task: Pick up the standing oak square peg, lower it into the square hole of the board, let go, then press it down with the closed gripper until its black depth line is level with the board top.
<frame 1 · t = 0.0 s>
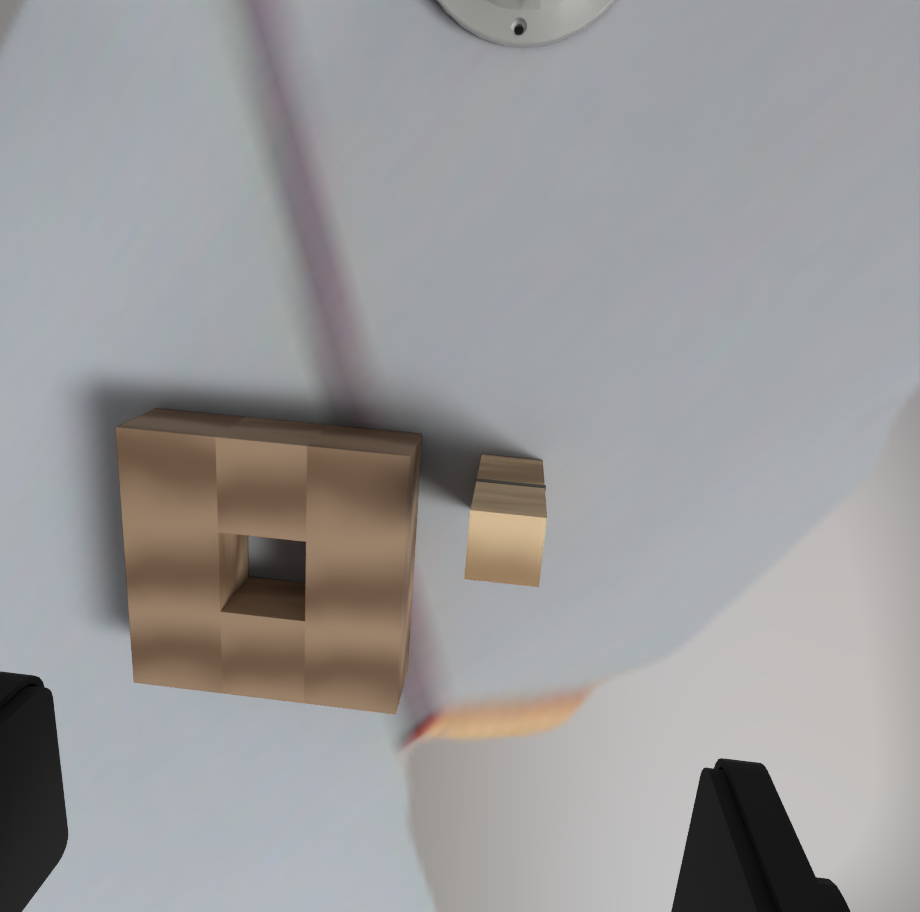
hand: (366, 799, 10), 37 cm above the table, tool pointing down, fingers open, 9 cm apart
peg: (509, 485, 47), on the table
board: (287, 545, 50), on the table
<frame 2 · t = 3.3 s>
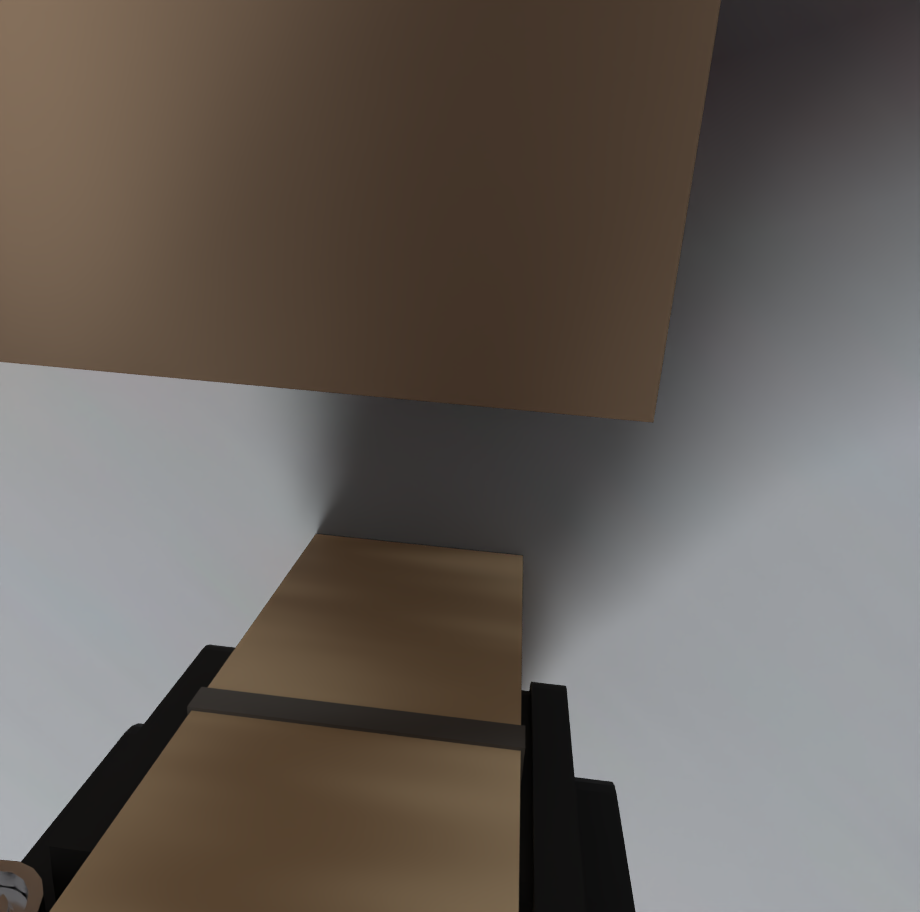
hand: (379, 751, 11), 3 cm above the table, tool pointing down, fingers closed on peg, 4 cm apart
peg: (412, 636, 14), on the table, touching gripper
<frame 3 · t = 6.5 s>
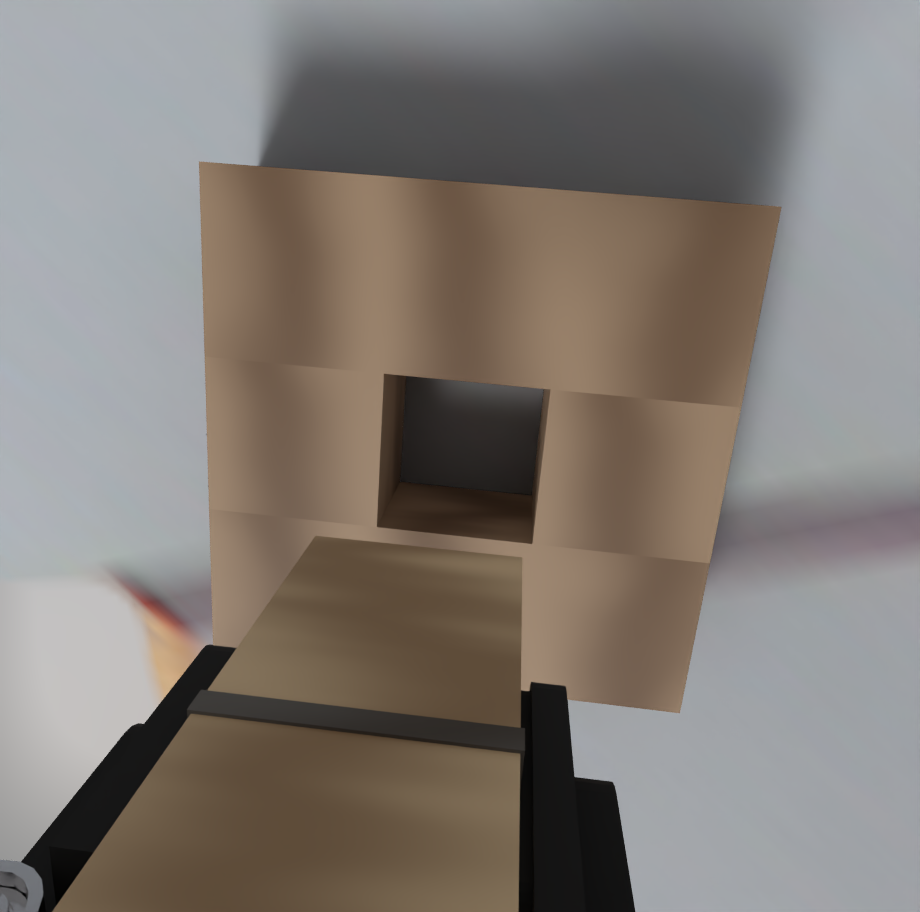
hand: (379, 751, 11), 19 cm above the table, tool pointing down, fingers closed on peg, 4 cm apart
peg: (412, 637, 14), point 16 cm above the table, touching gripper
board: (470, 424, 30), on the table
when the fingers open (6 cm above the table, at t = 9.9 s): peg drops 3 cm, resting in board.
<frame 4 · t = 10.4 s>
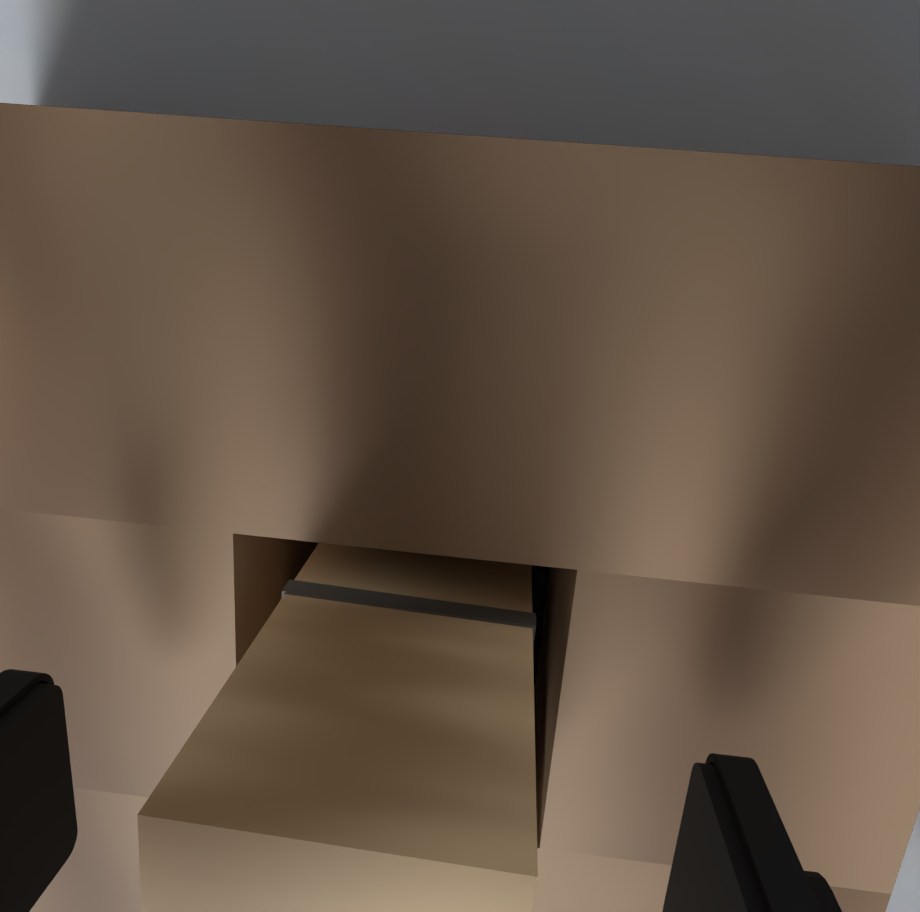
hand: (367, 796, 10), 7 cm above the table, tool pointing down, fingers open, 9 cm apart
peg: (435, 572, 17), resting in board
board: (431, 570, 17), on the table
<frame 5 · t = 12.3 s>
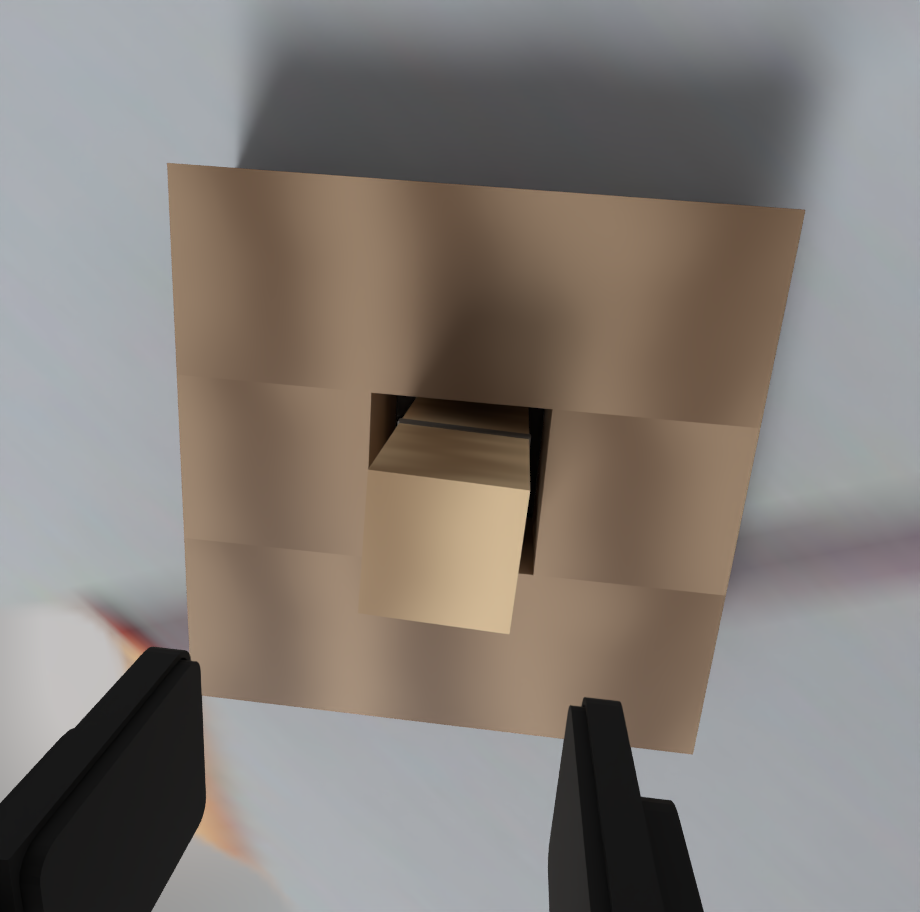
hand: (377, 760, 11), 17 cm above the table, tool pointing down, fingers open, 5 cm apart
peg: (469, 444, 28), resting in board
board: (466, 443, 28), on the table
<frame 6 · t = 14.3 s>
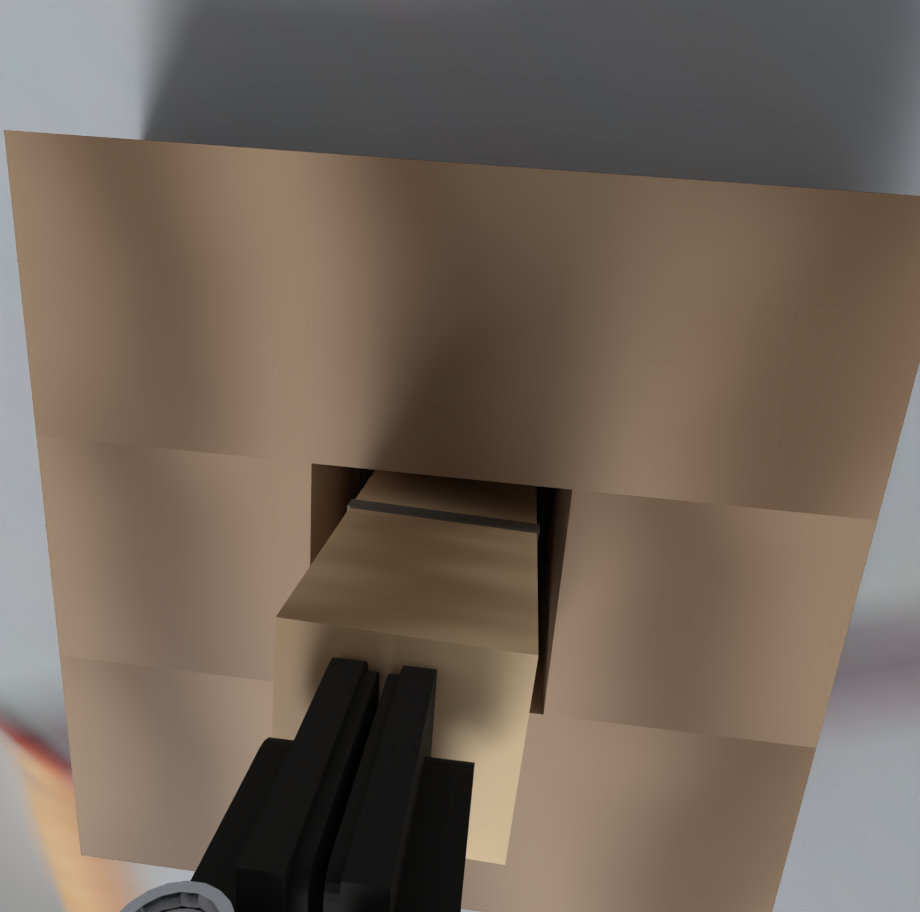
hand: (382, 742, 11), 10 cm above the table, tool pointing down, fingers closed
peg: (458, 513, 21), resting in board, touching gripper
board: (454, 512, 21), on the table
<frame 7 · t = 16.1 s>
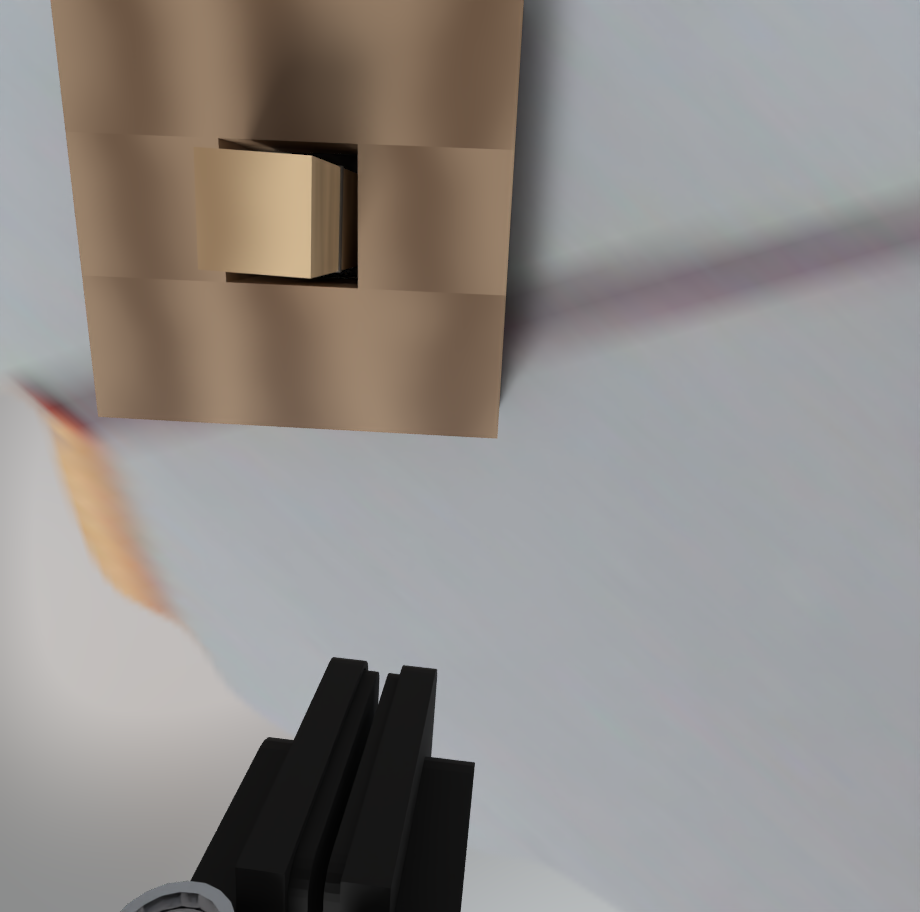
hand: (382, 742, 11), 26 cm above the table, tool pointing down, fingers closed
peg: (321, 218, 34), resting in board
board: (318, 217, 34), on the table
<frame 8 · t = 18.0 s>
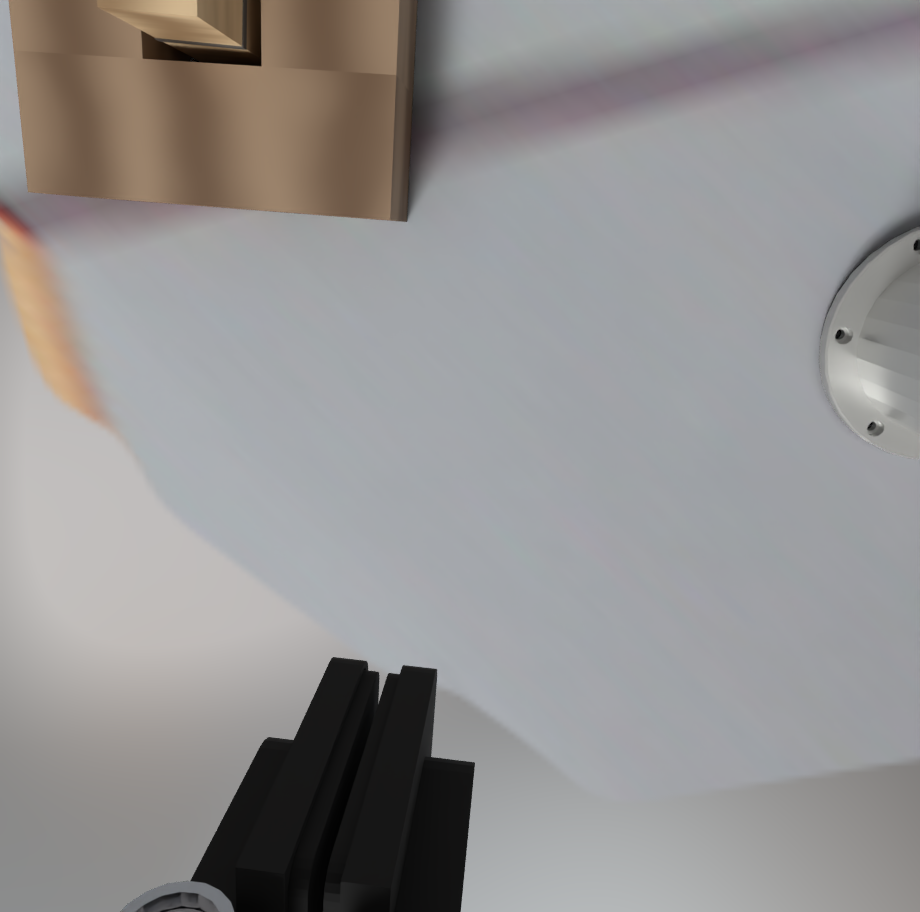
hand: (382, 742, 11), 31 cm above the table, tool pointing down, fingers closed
peg: (244, 25, 37), resting in board
board: (241, 23, 37), on the table
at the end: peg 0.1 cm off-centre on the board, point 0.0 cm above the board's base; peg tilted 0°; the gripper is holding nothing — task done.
